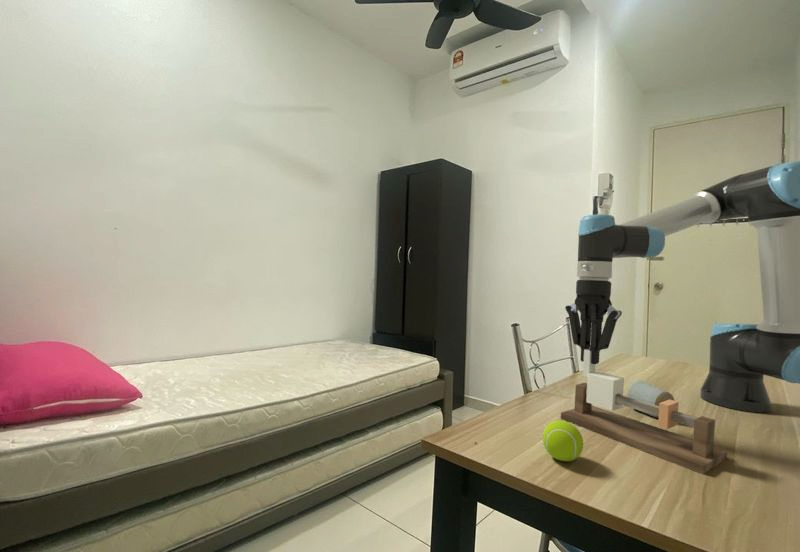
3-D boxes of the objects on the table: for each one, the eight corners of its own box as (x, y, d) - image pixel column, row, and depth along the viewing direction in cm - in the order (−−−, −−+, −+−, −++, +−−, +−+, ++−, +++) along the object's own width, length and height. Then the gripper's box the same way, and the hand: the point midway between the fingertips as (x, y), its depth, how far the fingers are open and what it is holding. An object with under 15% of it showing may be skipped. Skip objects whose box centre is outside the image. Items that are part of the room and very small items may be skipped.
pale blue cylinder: (655, 422, 91) (658, 390, 90) (625, 409, 98) (627, 380, 98) (685, 418, 94) (687, 388, 94) (653, 407, 102) (655, 379, 102)
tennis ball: (545, 446, 75) (546, 412, 75) (583, 456, 71) (585, 420, 71) (538, 461, 69) (540, 423, 69) (580, 473, 65) (582, 433, 65)
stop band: (668, 422, 78) (669, 399, 78) (677, 424, 77) (678, 401, 77) (658, 426, 76) (659, 403, 76) (667, 429, 74) (668, 405, 74)
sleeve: (596, 399, 91) (598, 371, 91) (622, 407, 86) (623, 378, 86) (586, 402, 88) (587, 373, 88) (612, 410, 83) (613, 380, 83)
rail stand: (588, 410, 96) (589, 379, 96) (726, 458, 73) (729, 417, 73) (560, 418, 90) (562, 385, 90) (703, 474, 66) (705, 429, 66)
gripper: (560, 277, 94) (555, 371, 94) (613, 280, 83) (607, 385, 83) (577, 278, 98) (572, 368, 98) (630, 281, 87) (624, 381, 87)
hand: (588, 376), depth 90 cm, fingers closed
